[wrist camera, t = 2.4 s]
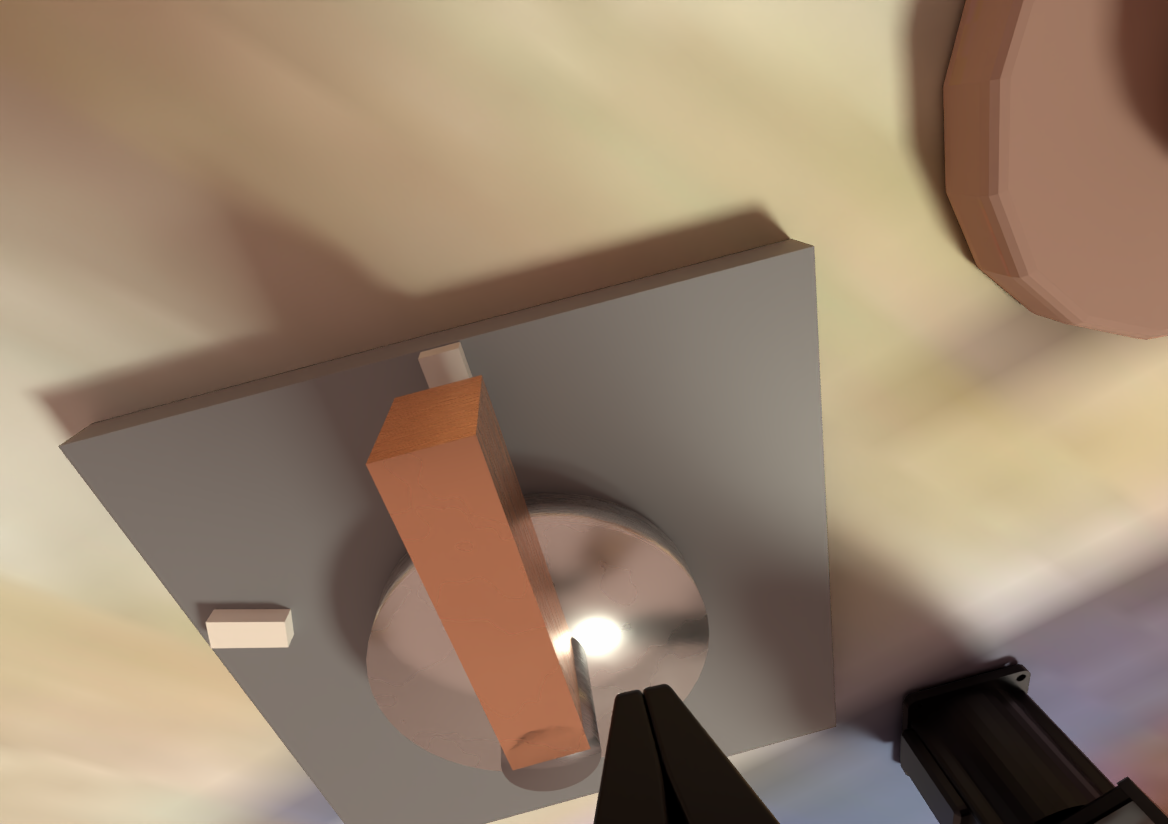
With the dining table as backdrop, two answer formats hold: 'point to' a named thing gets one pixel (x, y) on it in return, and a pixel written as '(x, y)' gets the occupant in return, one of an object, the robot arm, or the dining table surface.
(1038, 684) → the dining table surface
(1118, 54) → the wooden pedestal stand
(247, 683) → the panel
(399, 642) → the dial
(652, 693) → the robot arm
